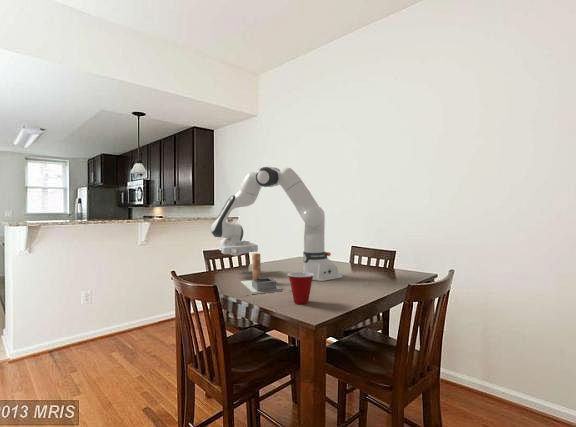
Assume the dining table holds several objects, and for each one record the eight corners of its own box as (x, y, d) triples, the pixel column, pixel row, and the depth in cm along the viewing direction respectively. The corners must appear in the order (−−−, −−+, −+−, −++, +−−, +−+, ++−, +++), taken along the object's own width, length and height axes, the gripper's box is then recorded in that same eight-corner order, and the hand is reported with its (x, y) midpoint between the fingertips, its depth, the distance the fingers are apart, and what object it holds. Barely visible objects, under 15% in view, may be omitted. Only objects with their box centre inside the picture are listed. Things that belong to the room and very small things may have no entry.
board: (266, 281, 170) (266, 271, 170) (282, 291, 150) (281, 281, 150) (240, 284, 165) (240, 274, 165) (252, 295, 145) (252, 284, 145)
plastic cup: (314, 298, 139) (314, 270, 138) (314, 306, 128) (313, 276, 128) (289, 298, 140) (288, 270, 139) (286, 306, 129) (286, 275, 129)
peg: (259, 280, 166) (259, 253, 165) (261, 282, 162) (261, 254, 162) (251, 281, 164) (251, 253, 164) (253, 283, 160) (253, 254, 160)
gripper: (217, 243, 179) (226, 246, 167) (251, 241, 190) (262, 243, 178) (217, 254, 179) (226, 258, 168) (251, 251, 190) (262, 255, 178)
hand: (245, 250), depth 173 cm, fingers open, 8 cm apart
